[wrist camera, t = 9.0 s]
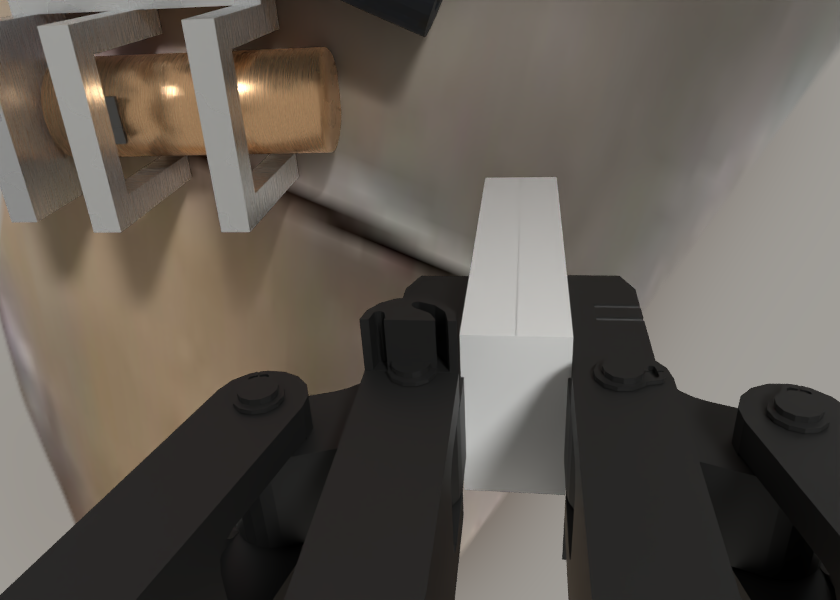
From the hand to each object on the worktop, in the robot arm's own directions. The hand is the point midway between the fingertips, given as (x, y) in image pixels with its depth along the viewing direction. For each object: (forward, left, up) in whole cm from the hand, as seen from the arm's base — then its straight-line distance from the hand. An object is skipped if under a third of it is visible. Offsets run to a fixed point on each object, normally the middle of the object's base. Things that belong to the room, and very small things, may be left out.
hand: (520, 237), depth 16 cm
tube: (+14, 0, -18) cm, 23 cm away
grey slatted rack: (+16, 0, -18) cm, 24 cm away
